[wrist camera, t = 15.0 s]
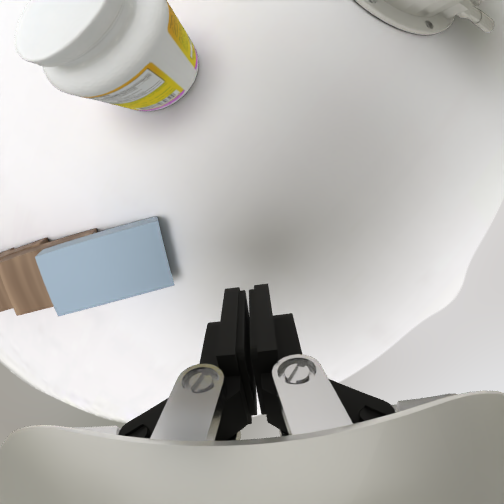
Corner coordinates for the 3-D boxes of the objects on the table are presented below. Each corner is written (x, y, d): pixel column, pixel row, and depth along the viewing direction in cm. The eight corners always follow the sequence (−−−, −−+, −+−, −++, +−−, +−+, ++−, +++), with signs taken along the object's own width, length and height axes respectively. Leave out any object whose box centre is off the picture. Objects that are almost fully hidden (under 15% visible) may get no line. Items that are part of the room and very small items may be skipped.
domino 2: (92, 233, 19) (-4, 263, 16) (110, 292, 21) (16, 315, 18) (96, 228, 21) (5, 256, 18) (112, 282, 23) (23, 305, 20)
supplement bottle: (144, 24, 15) (61, -57, 3) (217, 50, 17) (181, -54, 5) (102, 96, 17) (-20, 72, 5) (170, 127, 19) (69, 106, 7)
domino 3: (158, 220, 19) (34, 257, 16) (174, 285, 21) (58, 316, 18) (157, 216, 21) (42, 249, 18) (171, 275, 23) (63, 304, 20)
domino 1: (40, 242, 19) (-32, 270, 17) (58, 294, 21) (-13, 315, 18) (47, 237, 21) (-23, 263, 18) (63, 286, 23) (-6, 307, 20)
